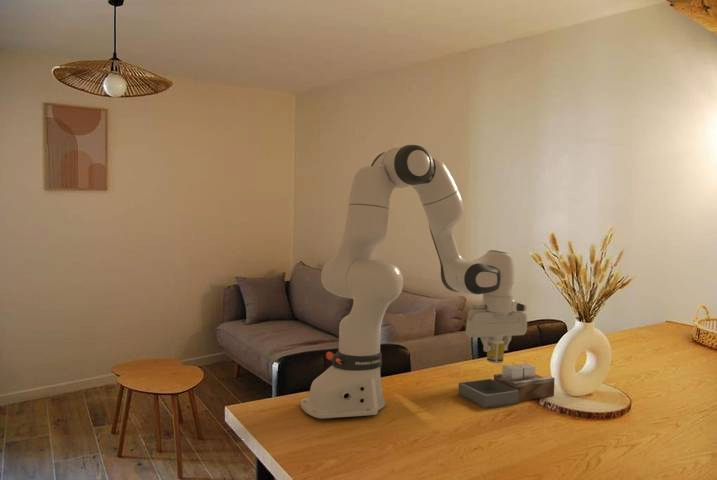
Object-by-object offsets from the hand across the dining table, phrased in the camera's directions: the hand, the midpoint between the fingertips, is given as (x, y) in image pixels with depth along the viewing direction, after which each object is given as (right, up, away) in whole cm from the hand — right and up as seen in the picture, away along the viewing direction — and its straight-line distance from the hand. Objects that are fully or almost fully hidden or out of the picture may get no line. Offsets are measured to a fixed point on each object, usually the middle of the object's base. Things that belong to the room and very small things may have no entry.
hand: (495, 350), depth 162 cm
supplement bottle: (0, -3, 0) cm, 3 cm away
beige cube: (+2, -6, -11) cm, 13 cm away
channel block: (+6, -10, -9) cm, 15 cm away
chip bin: (-6, -10, -14) cm, 18 cm away
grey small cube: (+6, -6, -9) cm, 12 cm away
